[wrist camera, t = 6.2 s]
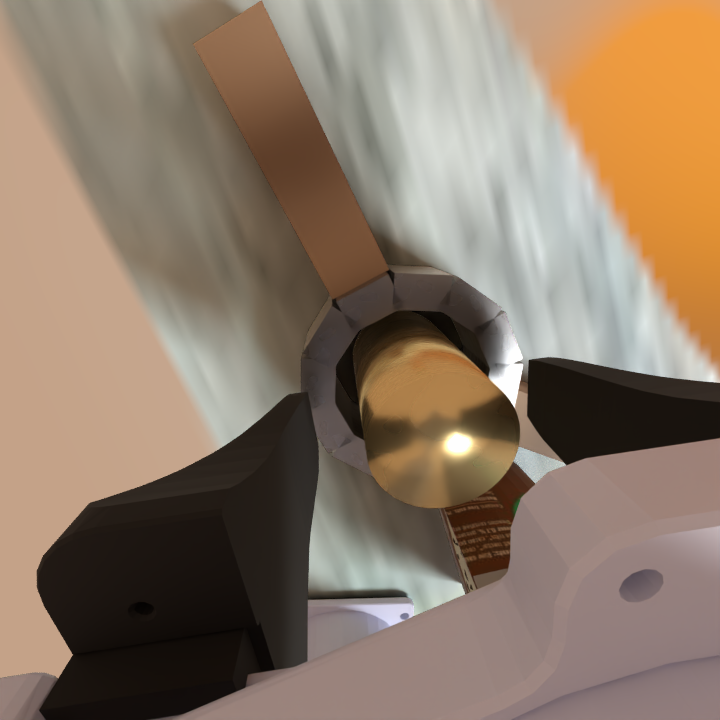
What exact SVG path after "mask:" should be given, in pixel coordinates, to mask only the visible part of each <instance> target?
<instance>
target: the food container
mask: <svg viewBox="0 0 720 720" xmlns="http://www.w3.org/2000/svg"><path fill="white" fill-rule="evenodd" d="M534 485H535V483H534V482H533V481H532V480H531V479H530V478H529V477H528V476H527V475H526V473H525V472H524V471H523V470H522V469H521V468H520V467H519V466H518V465H516V464H515V463H514V462H512V464H511V466H510V468H509V469H508V471H507V472H506V474H505V475H504V476H503V477H502V478H501V479H500V481H498V482H497V483H496V484H495V485H494V486H493V487H492V488H491V489H489V490H488V491H487V492H485V493H484V494H482V495H480V496H479V497H477V498H475V499H473V500H470V501H468V502H465V503H463V504H460V505H456V506H451V507H445V508H439V512H440V515H441V518H442V521H443V525H444V528H445V531H446V534H447V538H448V541H449V544H450V547H451V551H452V554H453V557H454V560H455V563H456V567H457V570H458V573H459V576H460V580H461V583H462V586H463V589H464V591H465V594H468V593H470V592H472V591H475V590H477V589H479V588H482V587H484V586H486V585H489V584H491V583H493V582H496V581H498V580H500V579H501V578H502V577H503V576H505V575H506V573H507V572H508V568H509V562H510V540H511V526H512V523H513V520H514V517H515V514H516V511H517V508H518V505H519V502H520V499H521V498H522V497H523V495H524V494H525V493H527V492H528V491H529V490H530V489H531V488H532V487H533V486H534Z"/></svg>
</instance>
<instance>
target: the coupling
mask: <svg viewBox="0 0 720 720" xmlns="http://www.w3.org/2000/svg"><path fill="white" fill-rule="evenodd" d="M193 45H194V47H195V49H196V51H197V53H198V54H199V56H200V58H201V60H202V62H203V64H204V65H205V67H206V69H207V71H208V73H209V75H210V76H211V78H212V80H213V82H214V84H215V86H216V87H217V89H218V91H219V93H220V95H221V97H222V98H223V100H224V102H225V104H226V106H227V108H228V109H229V111H230V113H231V115H232V117H233V118H234V120H235V122H236V124H237V126H238V128H239V129H240V131H241V133H242V135H243V137H244V139H245V140H246V142H247V144H248V146H249V148H250V150H251V151H252V153H253V155H254V157H255V159H256V161H257V162H258V164H259V166H260V168H261V170H262V172H263V173H264V175H265V177H266V179H267V181H268V183H269V184H270V186H271V188H272V190H273V192H274V194H275V195H276V197H277V199H278V201H279V203H280V205H281V206H282V208H283V210H284V212H285V214H286V216H287V217H288V219H289V221H290V223H291V225H292V227H293V228H294V230H295V232H296V234H297V236H298V238H299V239H300V241H301V243H302V245H303V247H304V249H305V250H306V252H307V254H308V256H309V258H310V259H311V261H312V263H313V265H314V267H315V269H316V270H317V272H318V274H319V276H320V278H321V280H322V281H323V283H324V285H325V287H326V289H327V291H328V292H329V294H330V296H329V298H328V299H327V301H326V302H325V304H324V306H323V307H322V309H321V311H320V312H319V314H318V315H317V317H316V319H315V320H314V322H313V324H312V325H311V327H310V329H309V330H308V334H307V337H306V341H305V345H304V349H303V353H302V357H301V393H302V392H308V395H309V400H310V405H311V410H312V416H313V421H314V426H315V431H316V435H317V436H318V438H319V440H320V441H321V443H322V444H323V446H324V447H325V449H326V450H327V452H328V453H330V452H332V457H334V458H336V459H338V460H340V461H342V462H344V463H346V464H348V465H350V466H352V467H354V468H356V469H358V470H360V471H362V472H364V473H366V474H368V475H370V476H372V477H373V475H372V473H371V470H370V468H369V465H368V461H367V456H366V449H365V442H364V435H363V428H362V421H361V414H360V407H359V404H357V403H355V402H353V401H352V400H350V398H349V396H348V395H347V393H346V391H345V390H344V388H343V386H342V385H341V383H340V381H339V379H338V378H337V376H336V365H337V363H338V362H339V360H340V359H341V357H342V356H343V354H344V353H345V351H346V349H347V348H348V346H349V345H350V343H351V342H352V340H353V339H354V337H355V336H356V334H357V333H358V331H359V330H361V329H363V328H365V327H366V326H368V325H370V324H372V323H374V322H376V321H378V320H380V319H382V318H384V317H386V316H388V315H390V314H392V313H394V312H395V311H397V310H413V311H442V312H443V313H445V314H446V315H448V316H449V317H451V319H452V321H453V323H454V326H455V328H456V330H457V332H458V335H459V337H460V339H461V342H462V344H463V345H462V353H463V354H464V355H465V356H467V357H468V358H469V359H470V360H471V361H472V362H473V363H474V364H475V365H476V366H477V367H478V368H479V369H480V370H481V371H482V372H483V373H484V374H485V375H486V376H487V377H488V378H489V379H490V380H491V381H492V382H493V383H494V384H495V385H496V386H498V387H499V388H500V389H501V390H502V391H503V392H504V394H505V395H506V396H507V397H508V398H509V399H510V401H511V403H512V404H513V406H514V408H515V410H516V412H517V415H518V419H519V423H520V442H519V447H522V448H525V449H528V450H530V451H533V452H536V453H539V454H542V455H544V456H547V457H550V458H553V459H556V460H558V461H561V462H563V461H562V460H561V459H560V458H559V457H558V456H557V454H556V453H555V452H554V451H553V450H552V449H551V448H550V447H549V446H548V445H547V444H546V442H545V441H544V440H543V439H542V438H541V436H540V435H539V433H538V432H537V431H536V429H535V428H534V426H533V425H532V423H531V422H530V420H529V418H528V417H527V397H528V383H526V382H524V381H521V380H520V379H521V374H522V369H523V363H521V362H520V361H519V360H521V359H523V357H522V354H521V352H520V349H519V346H518V344H517V341H516V338H515V336H514V333H513V330H512V328H511V325H510V322H509V320H508V317H507V314H506V312H504V311H502V310H501V309H502V307H500V306H499V305H497V304H496V303H495V302H493V301H492V300H490V299H489V298H487V297H486V296H485V295H483V294H482V293H480V292H479V291H478V290H476V289H475V288H473V287H472V286H470V285H469V284H468V283H466V282H465V281H463V280H462V279H460V278H459V277H457V276H454V275H452V274H449V273H446V272H444V271H441V270H439V269H436V268H433V267H430V266H409V265H387V264H386V262H385V260H384V257H383V255H382V253H381V251H380V249H379V247H378V245H377V243H376V241H375V239H374V236H373V234H372V232H371V230H370V228H369V226H368V224H367V222H366V220H365V217H364V215H363V213H362V211H361V209H360V207H359V205H358V203H357V201H356V198H355V196H354V194H353V192H352V190H351V188H350V186H349V184H348V182H347V180H346V177H345V175H344V173H343V171H342V169H341V167H340V165H339V163H338V161H337V158H336V156H335V154H334V152H333V150H332V148H331V146H330V144H329V142H328V139H327V137H326V135H325V133H324V131H323V129H322V127H321V125H320V123H319V121H318V118H317V116H316V114H315V112H314V110H313V108H312V106H311V104H310V102H309V99H308V97H307V95H306V93H305V91H304V89H303V87H302V85H301V83H300V80H299V78H298V76H297V74H296V72H295V70H294V68H293V66H292V64H291V61H290V59H289V57H288V55H287V53H286V51H285V49H284V47H283V45H282V43H281V40H280V38H279V36H278V34H277V32H276V30H275V28H274V26H273V24H272V21H271V19H270V17H269V15H268V13H267V11H266V9H265V7H264V5H263V2H262V0H261V1H260V2H258V3H257V4H255V5H254V6H252V7H250V8H249V9H247V10H246V11H244V12H243V13H241V14H239V15H238V16H236V17H235V18H233V19H232V20H230V21H228V22H227V23H225V24H224V25H222V26H221V27H219V28H217V29H216V30H214V31H213V32H211V33H210V34H208V35H206V36H205V37H203V38H202V39H200V40H198V41H197V42H195V43H194V44H193Z"/></svg>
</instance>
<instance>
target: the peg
mask: <svg viewBox="0 0 720 720" xmlns="http://www.w3.org/2000/svg"><path fill="white" fill-rule="evenodd" d="M353 365H354V372H355V379H356V386H357V393H358V400H359V407H360V414H361V421H362V428H363V435H364V442H365V449H366V456H367V461H368V465H369V468H370V470H371V473H372V475H373V477H374V478H375V480H376V481H377V483H378V484H379V485H380V486H381V487H382V488H383V489H384V490H385V491H386V492H387V493H388V494H390V495H391V496H393V497H394V498H396V499H398V500H400V501H402V502H404V503H407V504H410V505H413V506H417V507H422V508H445V507H451V506H456V505H460V504H463V503H465V502H468V501H470V500H473V499H475V498H477V497H479V496H480V495H482V494H484V493H485V492H487V491H488V490H489V489H491V488H492V487H493V486H494V485H495V484H496V483H497V482H498V481H500V479H501V478H502V477H503V476H504V475H505V474H506V472H507V471H508V469H509V468H510V466H511V464H512V462H513V460H514V458H515V456H516V453H517V450H518V447H519V442H520V423H519V419H518V415H517V412H516V410H515V408H514V406H513V404H512V403H511V401H510V399H509V398H508V397H507V396H506V395H505V394H504V392H503V391H502V390H501V389H500V388H499V387H498V386H496V385H495V384H494V383H493V382H492V381H491V380H490V379H489V378H488V377H487V376H486V375H485V374H484V373H483V372H482V371H481V370H480V369H479V368H478V367H477V366H476V365H475V364H474V363H473V362H472V361H471V360H470V359H469V358H468V357H467V356H465V355H464V354H463V353H462V352H461V351H460V350H459V349H458V348H457V347H456V346H455V345H454V344H453V343H452V342H451V341H450V340H449V339H448V338H447V337H446V336H445V335H444V334H443V333H442V332H441V331H440V330H439V329H438V328H437V327H436V326H435V325H433V324H432V323H431V322H430V321H429V320H428V319H426V318H425V317H423V316H421V315H419V314H417V313H413V312H408V311H395V312H394V313H392V314H390V315H388V316H386V317H384V318H382V319H380V320H378V321H376V322H374V323H372V324H370V325H368V326H366V327H365V328H363V330H362V331H361V332H360V334H359V336H358V338H357V340H356V342H355V345H354V350H353Z"/></svg>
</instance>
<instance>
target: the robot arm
mask: <svg viewBox="0 0 720 720" xmlns="http://www.w3.org/2000/svg"><path fill="white" fill-rule="evenodd" d="M527 417H528V418H529V420H530V422H531V423H532V425H533V426H534V428H535V429H536V431H537V432H538V433H539V435H540V436H541V438H542V439H543V440H544V441H545V442H546V444H547V445H548V446H549V447H550V448H551V449H552V450H553V451H554V452H555V453H556V454H557V456H558V457H559V458H560V459H561V460H562V461H563V462H564V463H565V464H566V466H564V467H561V468H558V469H555V470H553V471H550V472H548V473H547V474H546V475H544V476H543V477H542V478H541V479H540V480H539V481H538V482H537V483H536V484H535V485H534V486H533V487H532V488H531V489H530V490H529V491H528V492H527V493H525V494H524V495H523V497H522V498H521V499H520V502H519V505H518V508H517V511H516V514H515V517H514V520H513V523H512V526H511V540H510V562H509V568H508V572H507V573H506V575H505V576H503V577H502V578H501V579H500V580H498V581H496V582H493V583H491V584H489V585H486V586H484V587H482V588H479V589H477V590H475V591H472V592H470V593H468V594H465V595H463V596H460V597H458V598H456V599H453V600H451V601H449V602H446V603H444V604H442V605H439V606H437V607H435V608H432V609H430V610H427V611H425V612H423V613H420V614H418V615H416V616H413V613H414V605H413V601H412V600H411V599H410V598H407V597H395V598H359V599H322V600H308V572H309V543H310V532H311V525H312V518H313V510H314V503H315V496H316V489H317V481H318V473H319V450H318V442H317V436H316V431H315V426H314V421H313V416H312V410H311V405H310V400H309V395H308V392H302V393H295V394H289V395H287V396H286V397H285V398H283V399H282V400H281V401H280V402H279V403H278V404H277V405H276V406H275V407H273V408H272V409H271V410H270V411H269V412H268V413H267V414H266V415H265V416H263V417H262V418H261V419H260V420H259V421H258V422H256V423H255V424H254V425H253V426H251V427H250V428H249V429H248V430H246V431H245V432H244V433H242V434H241V435H240V436H238V437H237V438H236V439H234V440H233V441H231V442H230V443H228V444H227V445H225V446H223V447H222V448H220V449H219V450H217V451H215V452H214V453H212V454H210V455H208V456H206V457H205V458H203V459H201V460H199V461H197V462H195V463H193V464H191V465H189V466H187V467H185V468H183V469H181V470H179V471H177V472H174V473H172V474H170V475H168V476H165V477H163V478H161V479H158V480H156V481H153V482H151V483H148V484H146V485H143V486H140V487H137V488H135V489H131V490H129V491H126V492H122V493H120V494H116V495H114V496H110V497H108V498H104V499H101V500H98V501H95V502H91V503H89V504H88V505H87V506H86V508H85V509H84V510H83V511H82V512H81V513H80V515H79V516H78V517H77V518H76V519H75V520H74V521H73V522H72V523H71V525H70V526H69V527H68V528H67V529H66V530H65V531H64V533H63V534H62V535H61V536H60V537H59V539H57V541H56V542H55V543H54V544H53V545H52V546H51V547H50V549H49V550H48V551H47V552H46V553H45V554H44V555H43V557H42V560H41V562H40V565H39V567H38V569H37V589H38V592H39V594H40V597H41V599H42V602H43V604H44V607H45V608H46V610H47V612H48V613H49V615H50V617H51V618H52V620H53V622H54V624H55V625H56V627H57V629H58V630H59V632H60V634H61V635H62V637H63V639H64V640H65V642H66V644H67V645H68V647H69V649H70V650H71V652H72V654H73V656H72V657H71V659H70V661H69V662H68V664H67V665H66V667H65V669H64V670H63V672H62V674H61V675H60V677H59V678H56V677H55V676H53V675H50V674H47V673H28V674H22V675H16V676H9V677H3V678H0V720H720V383H714V382H702V381H693V380H684V379H675V378H667V377H660V376H653V375H647V374H641V373H635V372H630V371H624V370H619V369H614V368H609V367H604V366H599V365H594V364H589V363H584V362H579V361H574V360H568V359H562V358H552V357H546V358H539V359H532V360H529V366H528V397H527Z"/></svg>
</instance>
